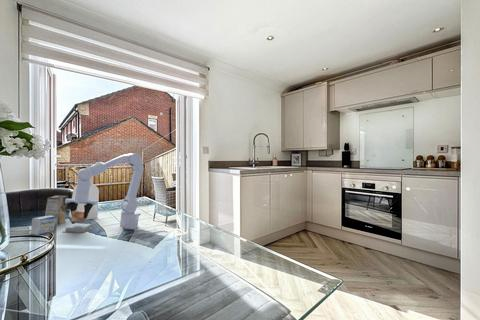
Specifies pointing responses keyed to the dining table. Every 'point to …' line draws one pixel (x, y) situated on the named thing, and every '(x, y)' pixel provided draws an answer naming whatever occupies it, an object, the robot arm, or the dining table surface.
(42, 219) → the medicine box
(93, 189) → the milk
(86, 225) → the top block
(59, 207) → the coffee box
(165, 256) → the dining table surface
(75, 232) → the bottom block
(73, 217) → the terracotta cube
